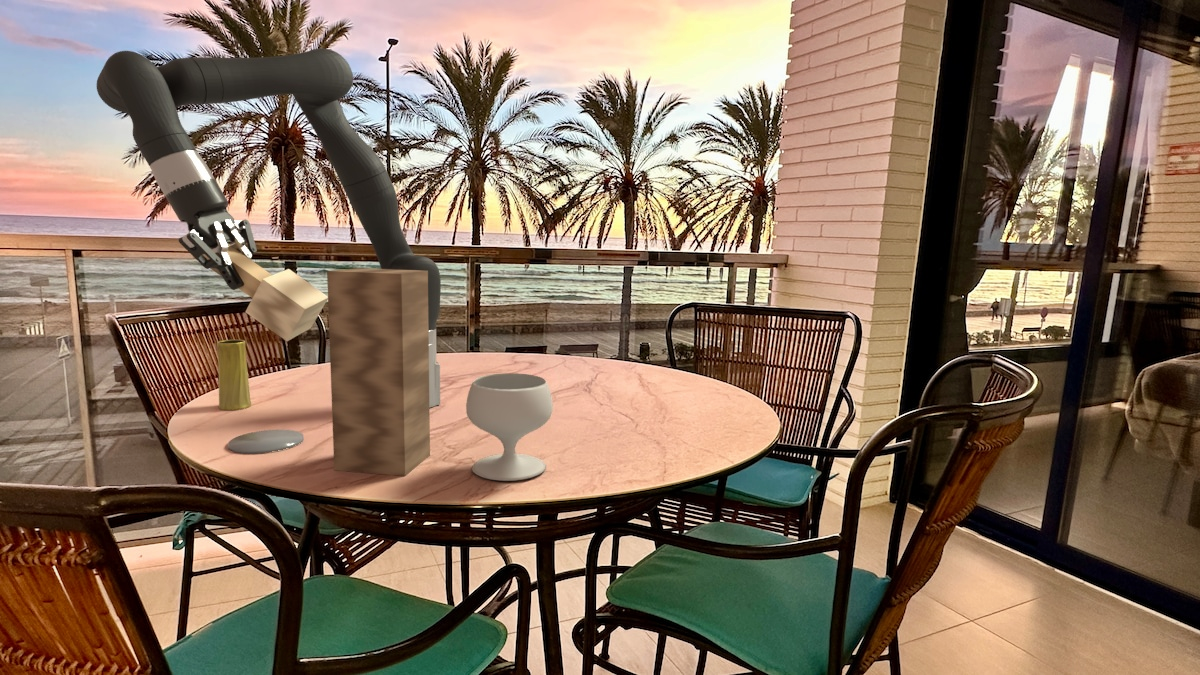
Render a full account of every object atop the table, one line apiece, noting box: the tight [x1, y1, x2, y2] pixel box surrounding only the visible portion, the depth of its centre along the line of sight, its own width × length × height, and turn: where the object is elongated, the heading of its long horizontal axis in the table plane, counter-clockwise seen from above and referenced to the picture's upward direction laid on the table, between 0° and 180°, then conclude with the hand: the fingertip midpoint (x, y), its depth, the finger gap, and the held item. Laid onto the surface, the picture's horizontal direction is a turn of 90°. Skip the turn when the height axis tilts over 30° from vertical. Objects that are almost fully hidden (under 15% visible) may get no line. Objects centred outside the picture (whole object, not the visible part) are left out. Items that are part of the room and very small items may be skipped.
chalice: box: [465, 372, 554, 482], centre depth 104 cm, size 14×14×15 cm
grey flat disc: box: [227, 428, 304, 455], centre depth 115 cm, size 12×12×1 cm
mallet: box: [202, 244, 328, 342], centre depth 105 cm, size 20×7×7 cm
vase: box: [216, 339, 252, 411], centre depth 136 cm, size 6×6×14 cm
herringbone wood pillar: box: [326, 267, 431, 477], centre depth 104 cm, size 12×10×32 cm
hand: (246, 284), depth 105 cm, fingers closed on mallet, 3 cm apart
